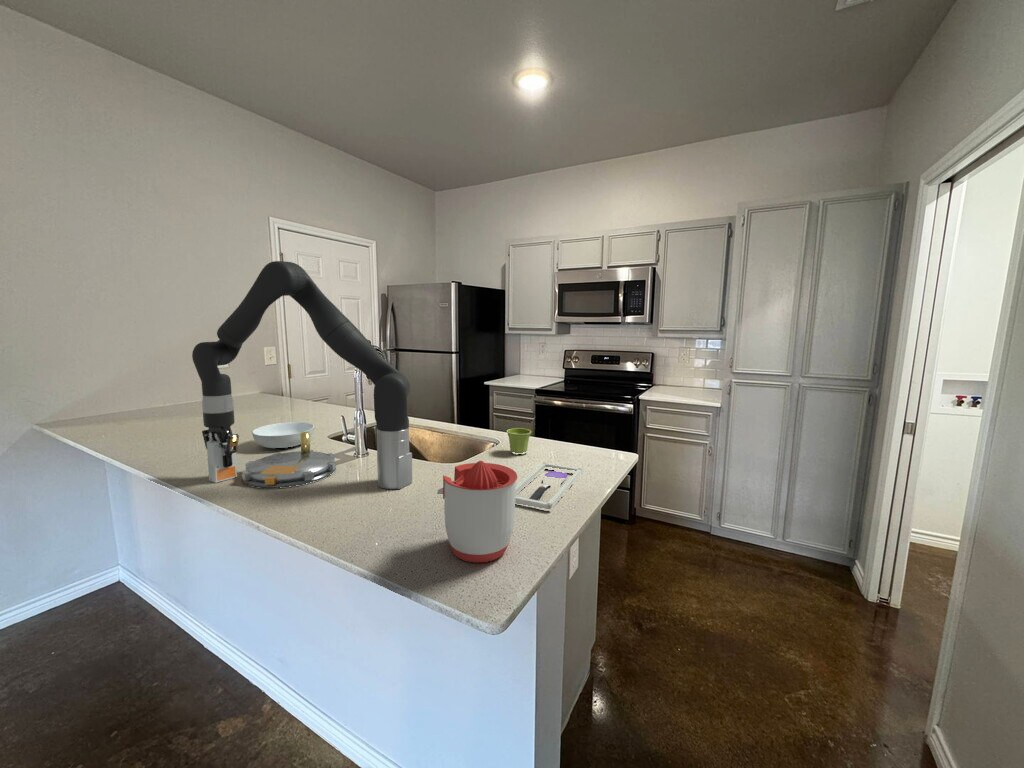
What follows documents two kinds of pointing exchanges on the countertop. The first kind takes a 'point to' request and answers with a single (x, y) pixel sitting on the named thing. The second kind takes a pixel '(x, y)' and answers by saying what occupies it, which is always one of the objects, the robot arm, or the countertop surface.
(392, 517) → the countertop surface
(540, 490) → the spatula
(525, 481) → the utensil tray
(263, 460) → the sprocket
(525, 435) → the plant pot
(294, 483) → the plate
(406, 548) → the countertop surface
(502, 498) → the citrus juicer
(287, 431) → the serving bowl
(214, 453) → the skincare box
